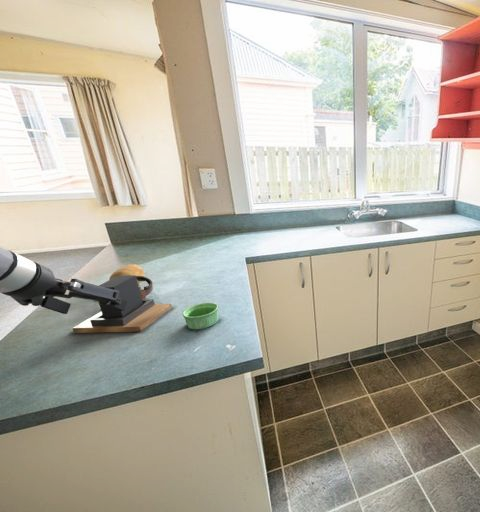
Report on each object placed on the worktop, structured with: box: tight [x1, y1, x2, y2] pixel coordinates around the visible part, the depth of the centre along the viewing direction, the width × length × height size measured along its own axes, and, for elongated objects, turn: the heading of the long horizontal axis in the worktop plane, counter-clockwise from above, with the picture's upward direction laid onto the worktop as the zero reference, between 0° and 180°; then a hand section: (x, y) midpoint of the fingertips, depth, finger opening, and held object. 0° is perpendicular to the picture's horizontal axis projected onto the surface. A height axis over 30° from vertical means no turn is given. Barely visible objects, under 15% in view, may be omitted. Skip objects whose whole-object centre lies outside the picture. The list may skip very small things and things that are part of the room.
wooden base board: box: [71, 298, 173, 334], centre depth 89 cm, size 18×14×4 cm
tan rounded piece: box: [108, 263, 146, 285], centre depth 111 cm, size 10×14×8 cm
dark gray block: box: [97, 275, 143, 318], centre depth 87 cm, size 5×9×11 cm, turn 7°
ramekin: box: [182, 302, 220, 330], centre depth 87 cm, size 9×9×4 cm
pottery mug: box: [136, 276, 154, 300], centre depth 102 cm, size 12×10×8 cm
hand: (96, 307), depth 79 cm, fingers open, 13 cm apart
